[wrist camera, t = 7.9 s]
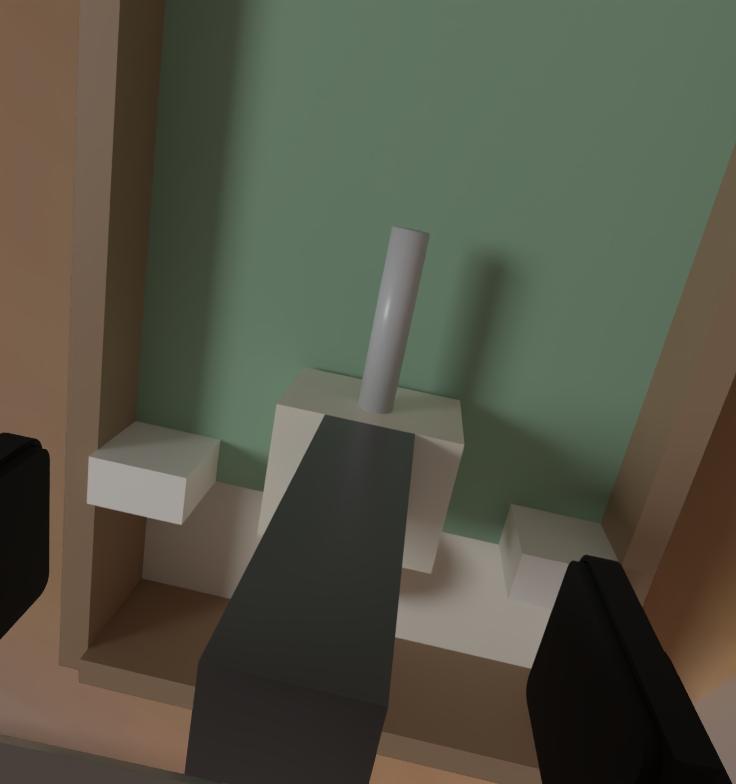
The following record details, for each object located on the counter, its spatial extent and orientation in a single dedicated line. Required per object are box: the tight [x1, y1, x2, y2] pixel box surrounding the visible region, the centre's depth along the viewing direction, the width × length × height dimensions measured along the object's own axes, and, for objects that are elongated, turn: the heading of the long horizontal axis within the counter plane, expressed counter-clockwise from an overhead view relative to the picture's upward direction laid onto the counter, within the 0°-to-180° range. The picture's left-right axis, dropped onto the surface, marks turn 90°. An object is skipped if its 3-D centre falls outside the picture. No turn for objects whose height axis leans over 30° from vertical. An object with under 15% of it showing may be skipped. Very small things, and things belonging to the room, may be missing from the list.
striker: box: [185, 226, 464, 784], centre depth 13 cm, size 9×5×13 cm, turn 169°
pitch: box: [59, 0, 736, 784], centre depth 19 cm, size 26×18×5 cm
